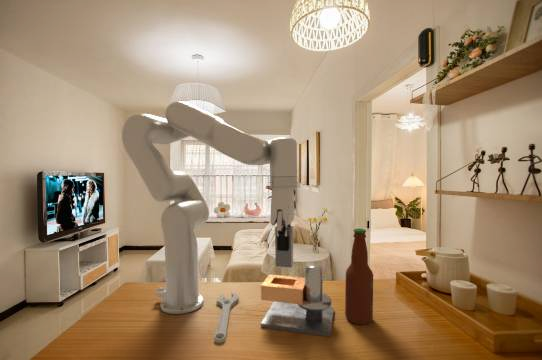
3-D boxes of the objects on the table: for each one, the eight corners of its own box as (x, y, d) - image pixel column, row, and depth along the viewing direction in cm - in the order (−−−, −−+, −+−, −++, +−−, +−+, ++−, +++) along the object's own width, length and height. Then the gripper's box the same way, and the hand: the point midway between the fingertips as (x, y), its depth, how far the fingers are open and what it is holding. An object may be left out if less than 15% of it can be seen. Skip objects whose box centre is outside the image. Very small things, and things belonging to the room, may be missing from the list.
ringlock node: (258, 326, 78) (257, 270, 78) (271, 303, 92) (271, 255, 91) (330, 337, 74) (330, 277, 73) (333, 310, 87) (334, 260, 86)
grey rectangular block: (275, 266, 82) (275, 227, 82) (277, 263, 85) (277, 225, 84) (291, 267, 81) (291, 227, 81) (293, 264, 84) (292, 225, 83)
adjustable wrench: (225, 345, 71) (224, 338, 71) (198, 344, 71) (198, 337, 71) (239, 298, 96) (239, 292, 96) (220, 298, 96) (220, 292, 96)
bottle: (378, 321, 81) (379, 230, 80) (359, 328, 77) (360, 233, 76) (358, 310, 87) (359, 225, 86) (339, 316, 84) (340, 228, 83)
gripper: (277, 181, 91) (278, 241, 92) (262, 184, 75) (263, 256, 76) (301, 181, 89) (302, 242, 90) (291, 185, 73) (292, 258, 74)
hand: (284, 248), depth 83 cm, fingers closed on grey rectangular block, 2 cm apart
